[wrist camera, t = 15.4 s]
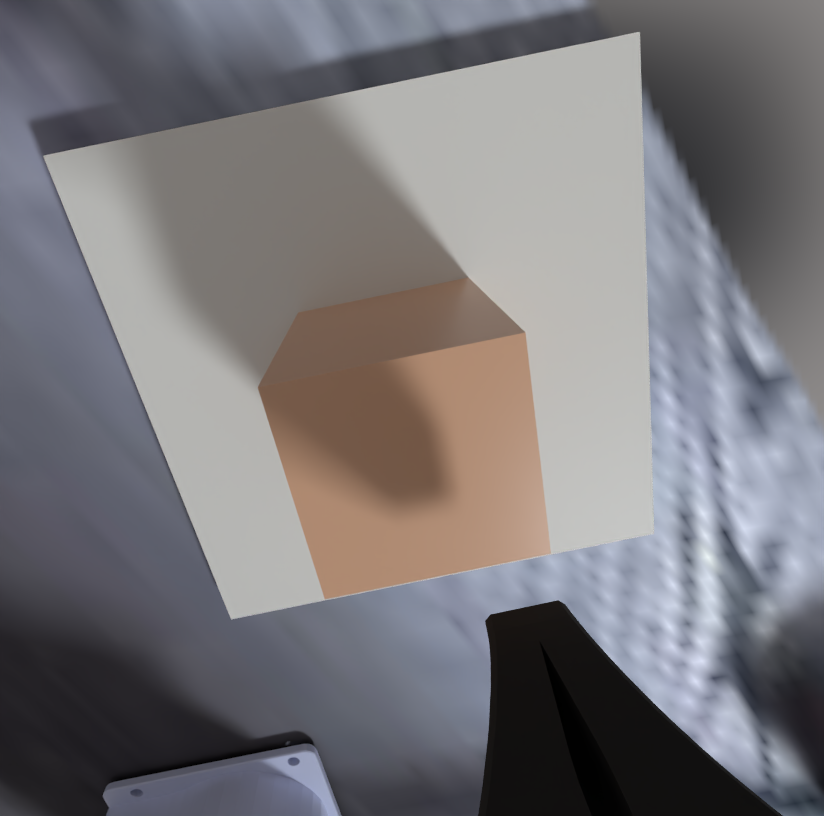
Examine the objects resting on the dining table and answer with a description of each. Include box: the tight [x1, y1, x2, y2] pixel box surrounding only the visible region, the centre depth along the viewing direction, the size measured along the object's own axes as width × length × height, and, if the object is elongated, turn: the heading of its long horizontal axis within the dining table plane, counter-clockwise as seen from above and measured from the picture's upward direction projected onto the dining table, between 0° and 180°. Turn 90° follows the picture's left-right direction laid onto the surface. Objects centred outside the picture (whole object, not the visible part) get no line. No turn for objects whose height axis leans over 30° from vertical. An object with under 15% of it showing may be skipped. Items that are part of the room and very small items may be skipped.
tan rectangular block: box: [258, 278, 551, 599], centre depth 15 cm, size 5×5×7 cm
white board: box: [43, 32, 654, 619], centre depth 16 cm, size 16×16×6 cm
